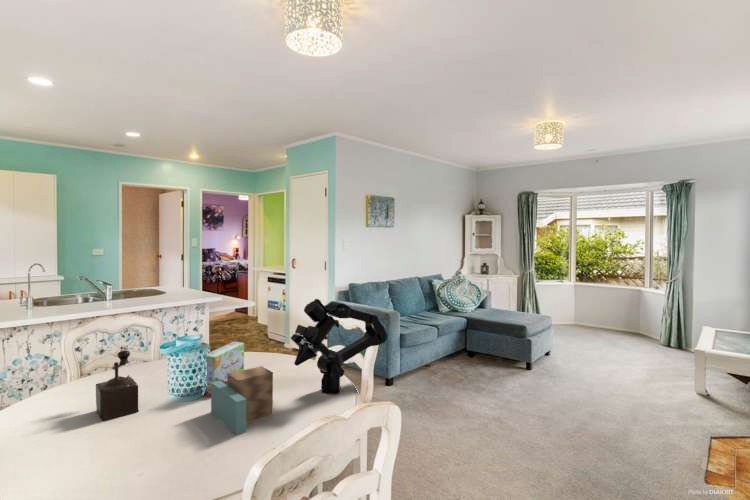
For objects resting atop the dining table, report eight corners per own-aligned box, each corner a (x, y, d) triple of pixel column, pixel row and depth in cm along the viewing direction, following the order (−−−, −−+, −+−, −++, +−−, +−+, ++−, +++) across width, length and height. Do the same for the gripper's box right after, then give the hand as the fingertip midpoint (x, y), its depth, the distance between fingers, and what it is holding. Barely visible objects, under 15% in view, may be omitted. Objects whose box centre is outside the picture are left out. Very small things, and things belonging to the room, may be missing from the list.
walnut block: (261, 406, 142) (261, 366, 141) (272, 413, 136) (272, 372, 135) (227, 415, 134) (227, 373, 133) (237, 424, 128) (237, 380, 127)
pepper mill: (141, 411, 135) (141, 358, 135) (101, 421, 128) (101, 365, 127) (129, 397, 146) (129, 347, 146) (92, 406, 139) (91, 353, 138)
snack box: (214, 398, 148) (214, 356, 147) (200, 396, 149) (200, 355, 148) (244, 378, 169) (244, 341, 168) (232, 376, 170) (232, 340, 169)
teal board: (220, 409, 138) (220, 380, 138) (246, 431, 123) (246, 399, 123) (211, 412, 136) (211, 382, 136) (236, 434, 121) (236, 401, 121)
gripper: (295, 312, 155) (268, 346, 148) (323, 320, 142) (295, 358, 135) (312, 330, 161) (287, 363, 154) (341, 339, 147) (315, 376, 140)
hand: (295, 364), depth 146 cm, fingers closed
